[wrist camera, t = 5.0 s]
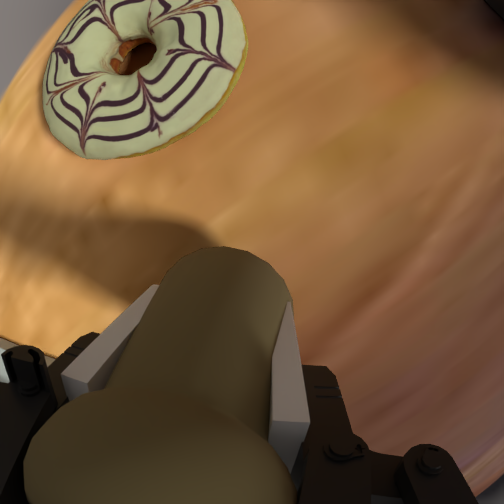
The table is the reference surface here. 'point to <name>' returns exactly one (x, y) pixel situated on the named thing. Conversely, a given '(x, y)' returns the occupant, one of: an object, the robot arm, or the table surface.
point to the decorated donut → (141, 74)
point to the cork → (178, 399)
